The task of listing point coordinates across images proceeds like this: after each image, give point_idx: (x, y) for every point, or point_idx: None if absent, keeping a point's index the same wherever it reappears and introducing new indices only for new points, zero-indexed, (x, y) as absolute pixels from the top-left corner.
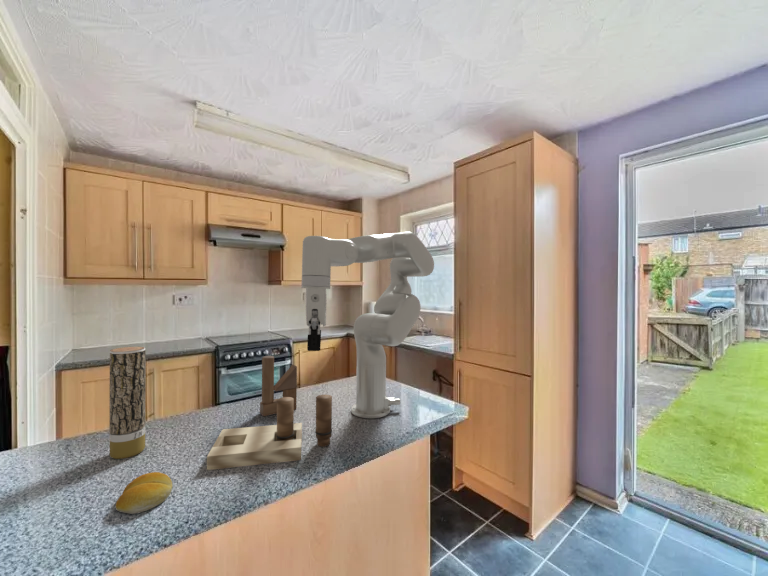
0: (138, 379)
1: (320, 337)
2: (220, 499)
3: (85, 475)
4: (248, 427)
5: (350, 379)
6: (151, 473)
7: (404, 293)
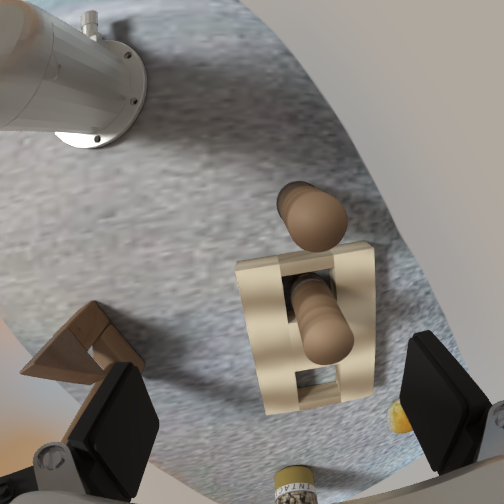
0: None
1: (476, 386)
2: (441, 330)
3: (341, 474)
4: (259, 379)
5: None
6: (407, 425)
7: None
